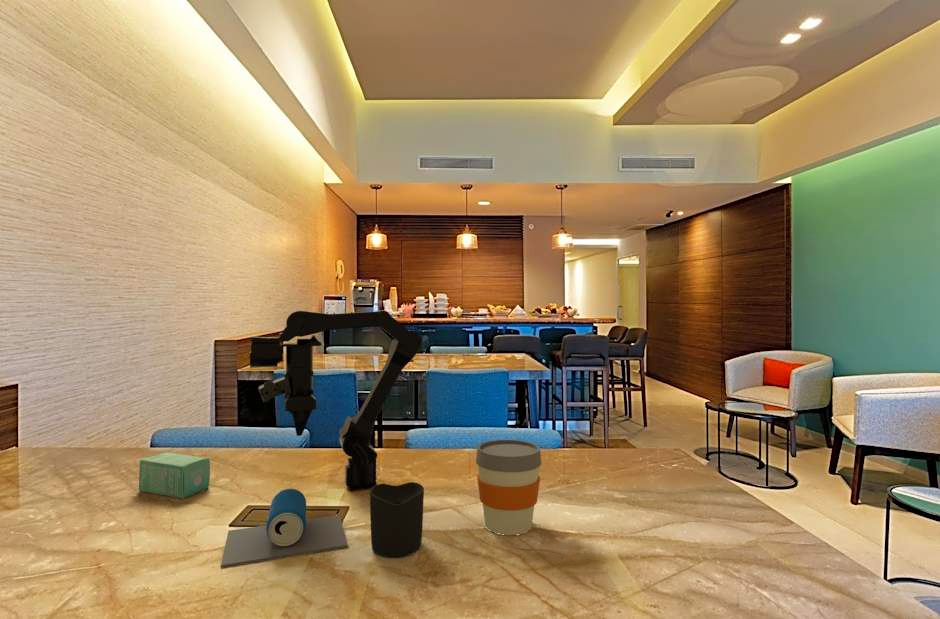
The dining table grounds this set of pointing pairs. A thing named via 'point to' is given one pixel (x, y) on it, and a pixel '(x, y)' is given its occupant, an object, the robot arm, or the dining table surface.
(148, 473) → the box
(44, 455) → the dining table surface
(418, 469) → the dining table surface
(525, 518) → the reusable coffee cup
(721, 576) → the dining table surface
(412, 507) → the pen holder
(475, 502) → the dining table surface
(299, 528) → the beverage can
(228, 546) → the mat
